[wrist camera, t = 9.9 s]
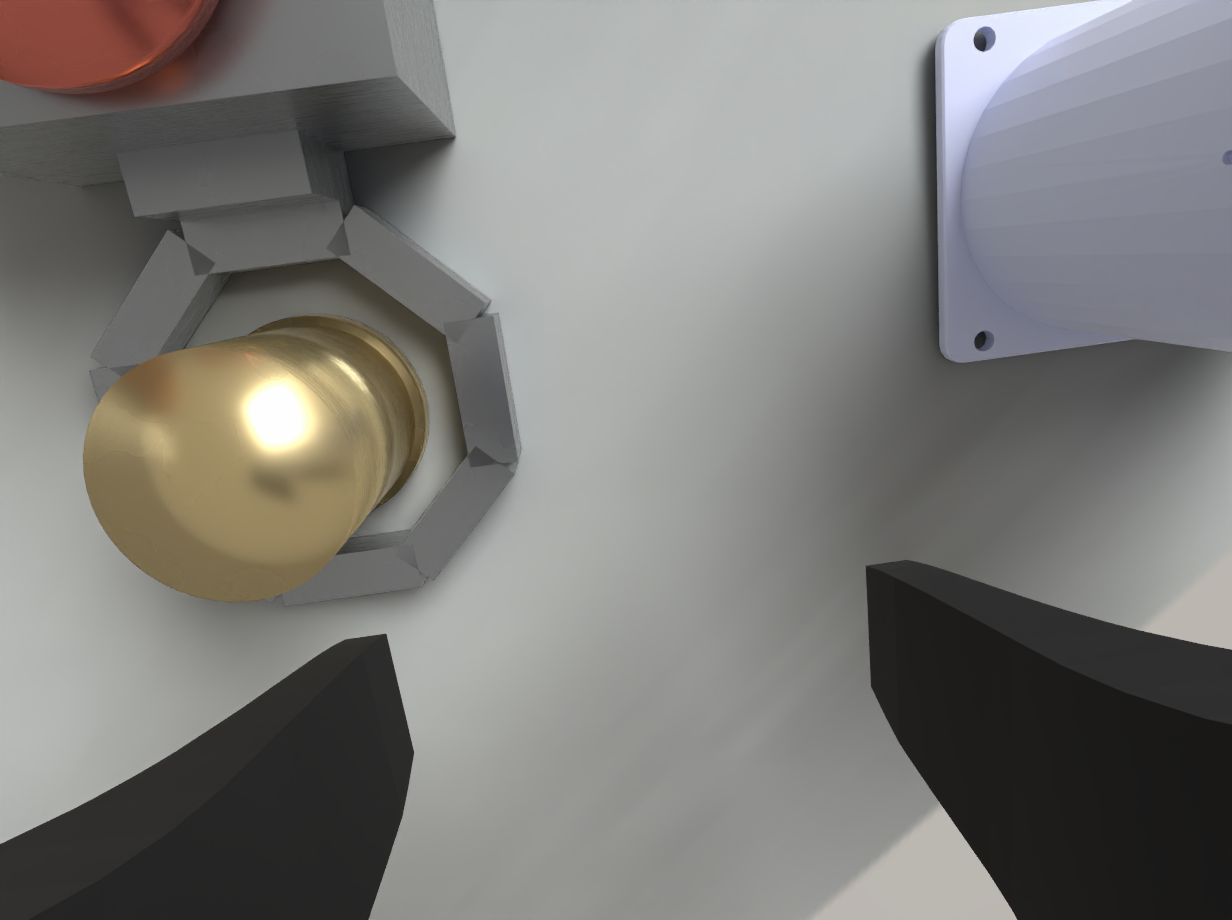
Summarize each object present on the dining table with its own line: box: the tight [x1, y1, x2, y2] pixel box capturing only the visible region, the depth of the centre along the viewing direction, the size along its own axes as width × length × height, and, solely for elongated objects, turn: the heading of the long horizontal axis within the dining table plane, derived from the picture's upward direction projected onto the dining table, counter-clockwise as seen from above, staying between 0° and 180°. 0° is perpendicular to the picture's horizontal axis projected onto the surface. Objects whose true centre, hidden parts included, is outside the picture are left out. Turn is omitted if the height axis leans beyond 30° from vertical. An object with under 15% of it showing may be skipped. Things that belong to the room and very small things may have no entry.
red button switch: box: [0, 0, 521, 606], centre depth 14 cm, size 10×20×7 cm, turn 7°
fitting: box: [83, 314, 430, 602], centre depth 16 cm, size 5×5×6 cm
